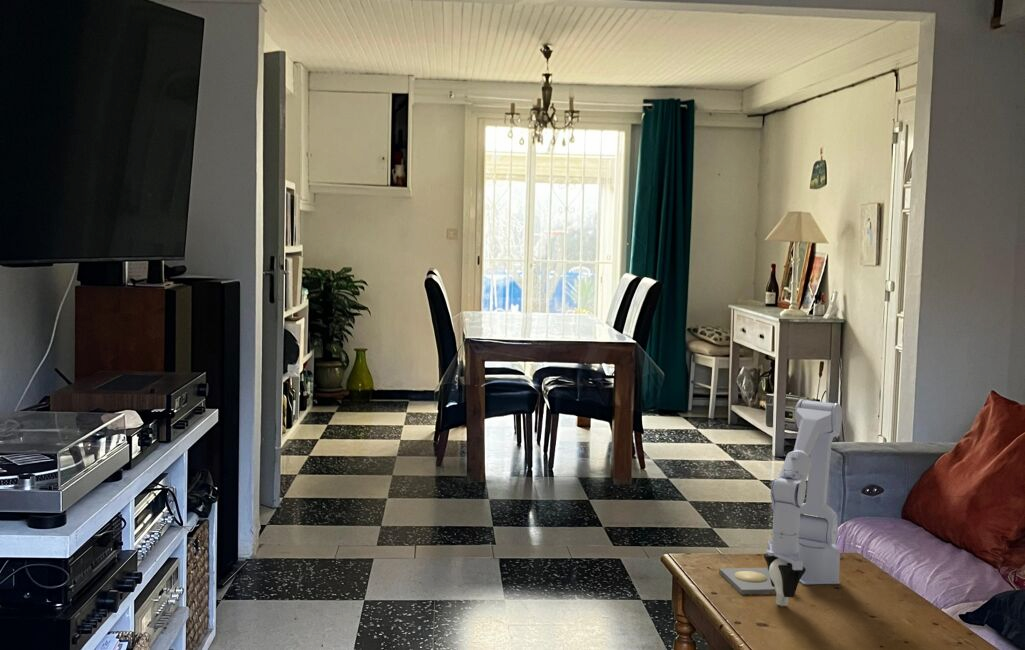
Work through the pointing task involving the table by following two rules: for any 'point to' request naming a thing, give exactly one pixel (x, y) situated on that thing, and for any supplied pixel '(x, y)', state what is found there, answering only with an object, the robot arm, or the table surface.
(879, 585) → the table surface
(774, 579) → the lightbulb
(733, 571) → the lamp base
